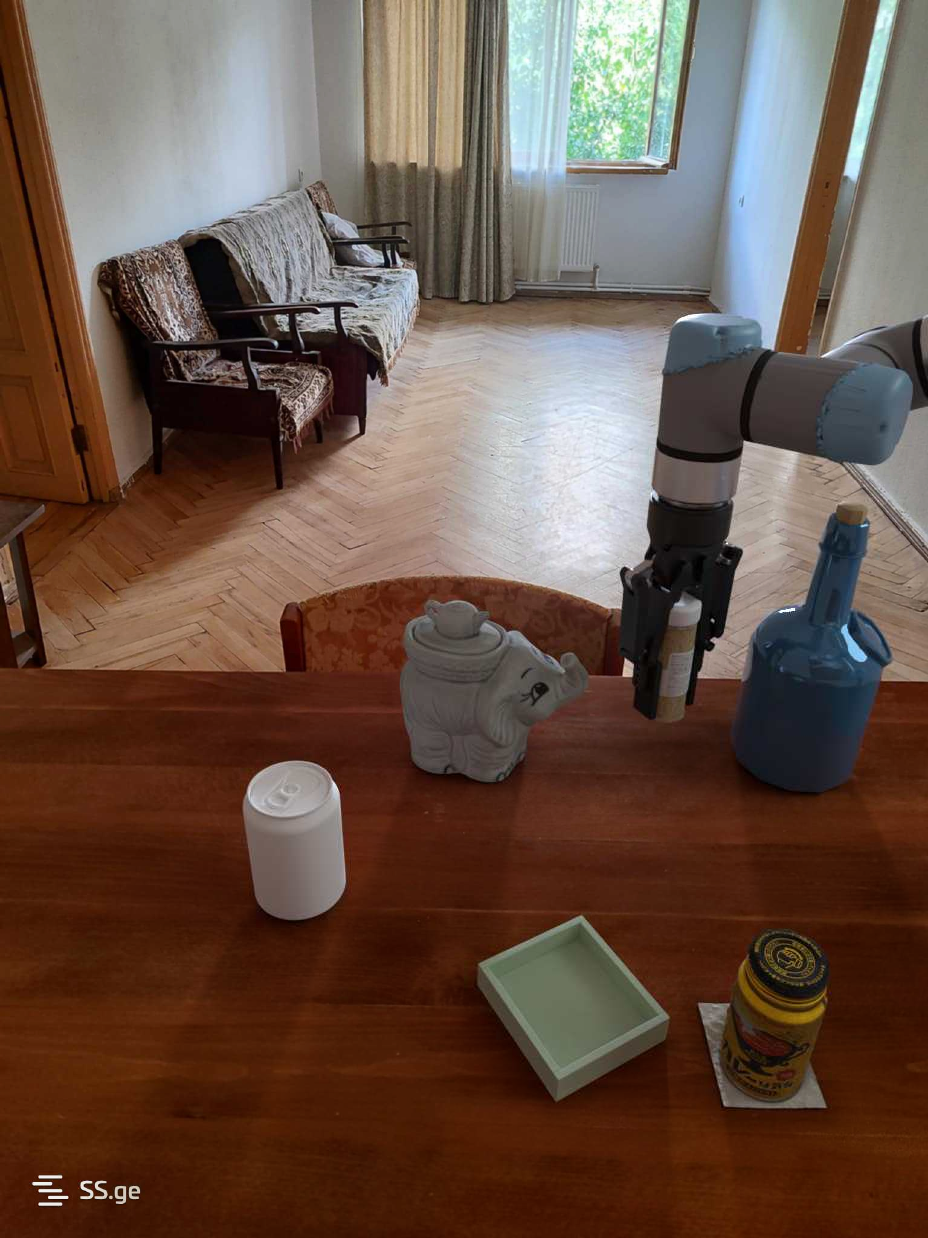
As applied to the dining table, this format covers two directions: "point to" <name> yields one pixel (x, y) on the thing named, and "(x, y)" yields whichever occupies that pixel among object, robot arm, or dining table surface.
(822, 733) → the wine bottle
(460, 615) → the elephant cookie jar
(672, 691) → the sprinkles bottle
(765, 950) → the condiment
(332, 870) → the beverage can
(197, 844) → the dining table surface
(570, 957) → the tray
